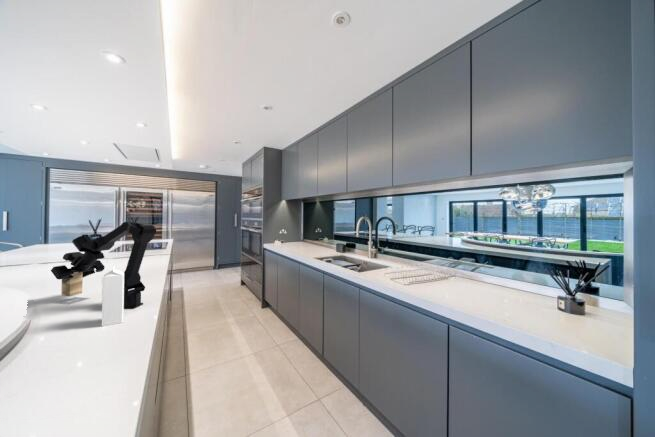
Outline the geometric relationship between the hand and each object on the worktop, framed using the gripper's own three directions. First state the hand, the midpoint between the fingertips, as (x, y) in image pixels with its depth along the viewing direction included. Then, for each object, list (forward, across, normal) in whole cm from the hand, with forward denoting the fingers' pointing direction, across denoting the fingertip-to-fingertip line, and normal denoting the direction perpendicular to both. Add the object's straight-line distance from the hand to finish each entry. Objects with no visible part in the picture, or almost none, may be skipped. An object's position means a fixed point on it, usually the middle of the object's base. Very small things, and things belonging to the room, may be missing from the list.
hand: (69, 280), depth 116 cm
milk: (-24, +15, +39) cm, 48 cm away
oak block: (+4, 0, +6) cm, 7 cm away
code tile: (+6, 0, +8) cm, 10 cm away
